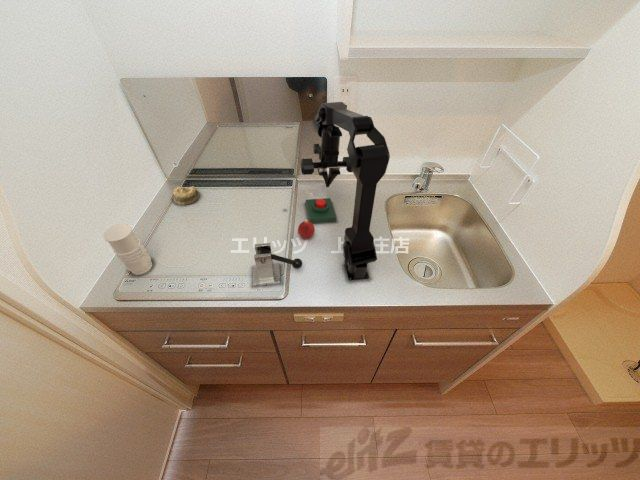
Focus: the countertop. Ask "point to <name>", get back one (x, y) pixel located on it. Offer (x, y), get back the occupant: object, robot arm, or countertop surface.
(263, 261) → the bracket
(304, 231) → the onion
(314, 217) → the control box
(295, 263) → the lever
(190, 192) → the cake
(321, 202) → the button
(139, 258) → the candle
